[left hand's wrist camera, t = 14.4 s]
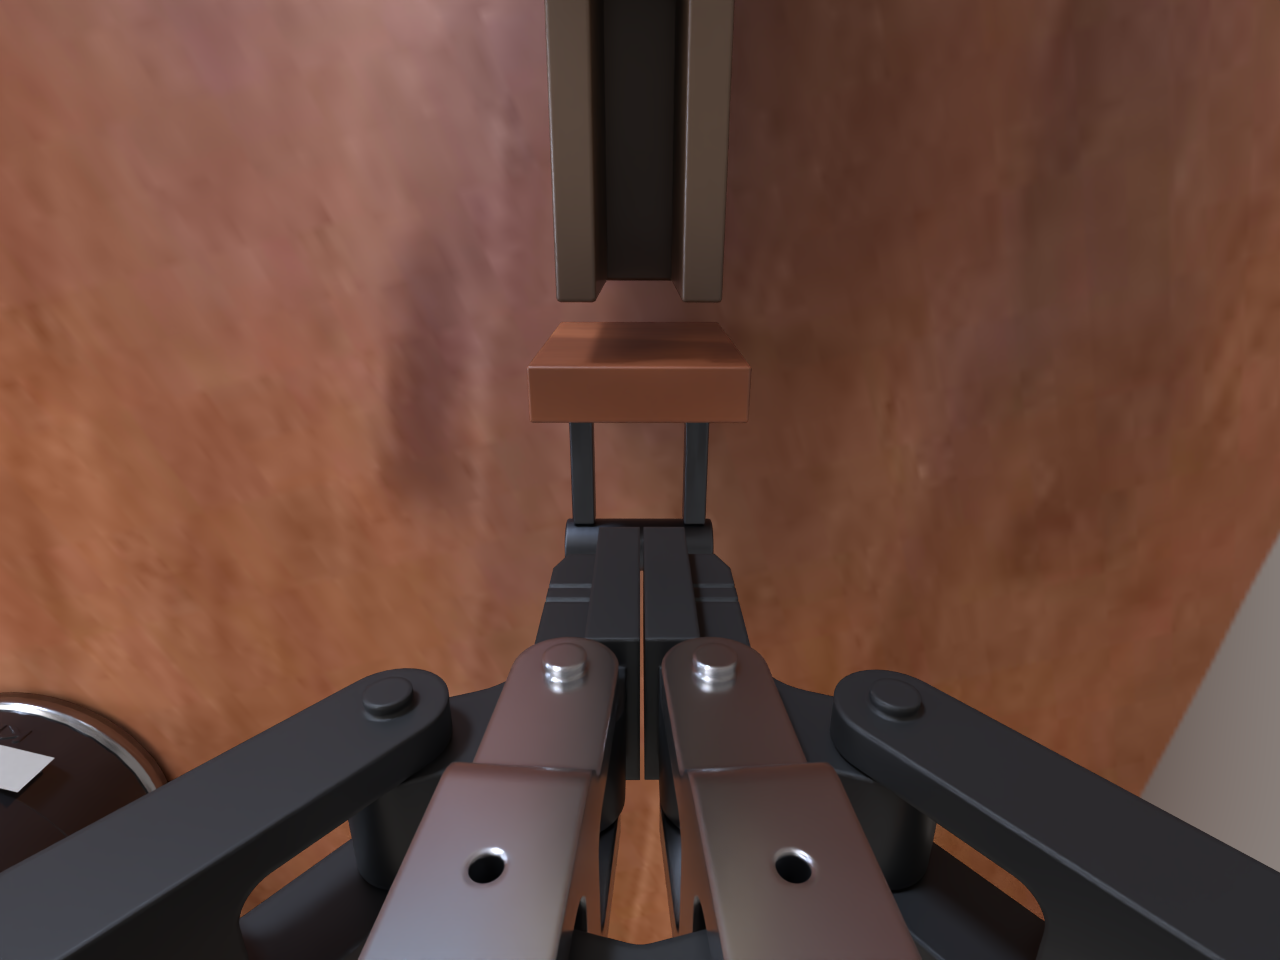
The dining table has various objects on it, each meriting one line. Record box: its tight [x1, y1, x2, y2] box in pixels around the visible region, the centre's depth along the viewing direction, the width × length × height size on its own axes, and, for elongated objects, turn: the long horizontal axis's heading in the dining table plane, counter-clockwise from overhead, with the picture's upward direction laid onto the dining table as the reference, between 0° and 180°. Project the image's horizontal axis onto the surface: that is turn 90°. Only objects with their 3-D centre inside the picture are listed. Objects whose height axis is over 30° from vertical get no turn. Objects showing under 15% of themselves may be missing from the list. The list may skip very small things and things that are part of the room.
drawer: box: [527, 0, 751, 571], centre depth 15 cm, size 25×5×6 cm, turn 0°
